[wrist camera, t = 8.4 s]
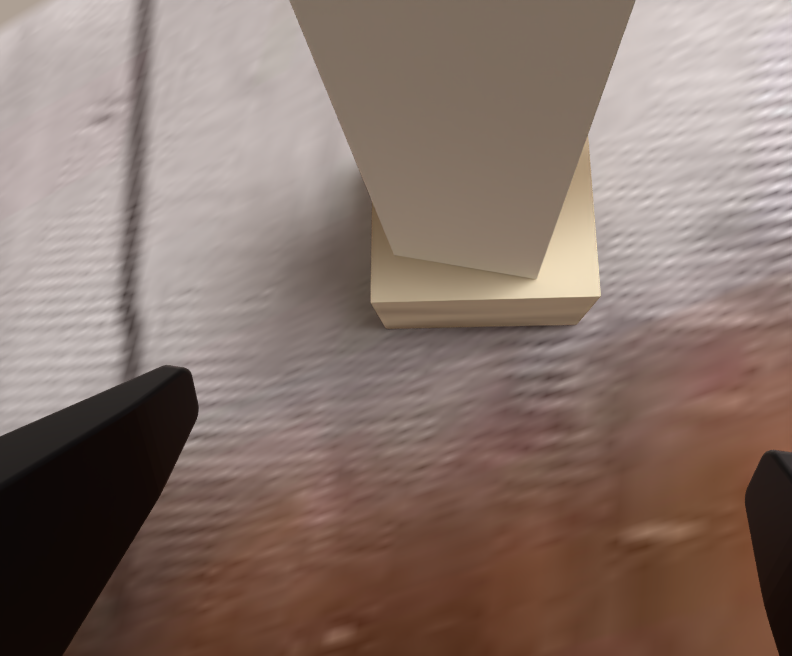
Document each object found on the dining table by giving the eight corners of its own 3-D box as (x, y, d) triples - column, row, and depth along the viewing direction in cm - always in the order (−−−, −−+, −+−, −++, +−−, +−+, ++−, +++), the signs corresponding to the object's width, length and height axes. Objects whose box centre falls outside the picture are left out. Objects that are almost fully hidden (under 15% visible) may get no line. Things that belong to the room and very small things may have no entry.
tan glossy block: (575, 326, 21) (601, 296, 17) (387, 330, 22) (370, 302, 18) (563, 153, 23) (584, 90, 19) (388, 163, 23) (373, 105, 19)
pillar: (536, 279, 17) (662, -73, 6) (394, 255, 18) (249, -97, 7) (561, 146, 18) (714, -399, 7) (423, 128, 19) (342, -385, 7)
